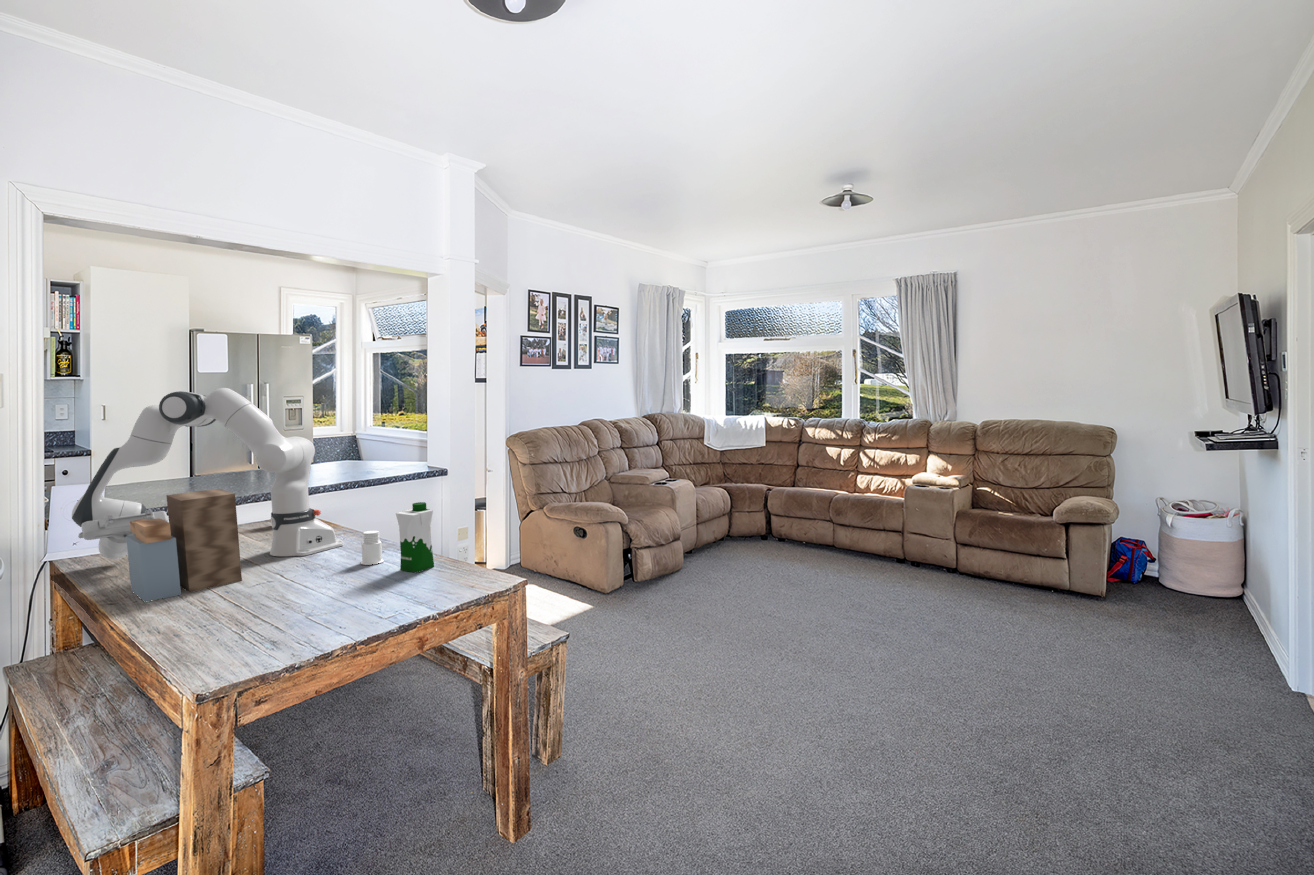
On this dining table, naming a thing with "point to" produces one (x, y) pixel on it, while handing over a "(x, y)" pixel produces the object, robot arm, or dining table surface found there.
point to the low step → (153, 568)
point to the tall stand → (205, 538)
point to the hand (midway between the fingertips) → (129, 514)
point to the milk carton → (415, 538)
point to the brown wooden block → (151, 530)
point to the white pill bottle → (371, 548)
